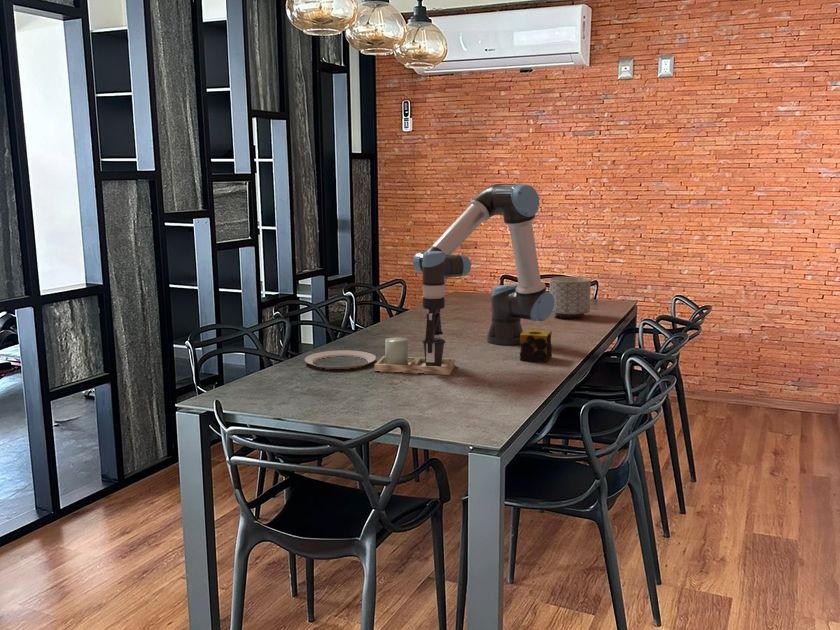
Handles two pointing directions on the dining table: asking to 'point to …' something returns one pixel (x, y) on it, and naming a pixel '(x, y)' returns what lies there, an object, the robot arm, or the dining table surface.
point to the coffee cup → (436, 352)
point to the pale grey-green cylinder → (396, 351)
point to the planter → (570, 296)
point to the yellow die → (535, 346)
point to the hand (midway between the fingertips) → (433, 357)
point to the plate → (320, 355)
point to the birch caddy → (416, 366)
